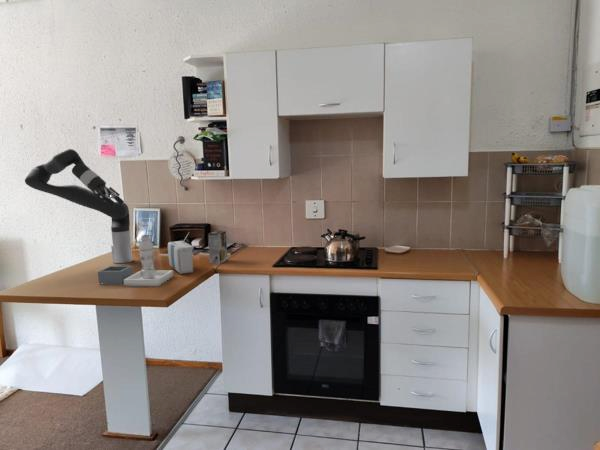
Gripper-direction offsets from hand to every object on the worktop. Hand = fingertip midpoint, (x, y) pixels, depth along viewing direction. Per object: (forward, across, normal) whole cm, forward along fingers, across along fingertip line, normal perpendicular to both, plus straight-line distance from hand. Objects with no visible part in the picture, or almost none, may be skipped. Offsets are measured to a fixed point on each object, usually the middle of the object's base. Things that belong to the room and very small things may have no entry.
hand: (118, 204), depth 207 cm
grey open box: (+26, +14, -22) cm, 37 cm away
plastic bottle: (+37, +14, -11) cm, 41 cm away
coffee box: (+54, -23, +4) cm, 58 cm away
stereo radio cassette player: (+43, -6, -6) cm, 44 cm away
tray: (+38, +15, -11) cm, 42 cm away
